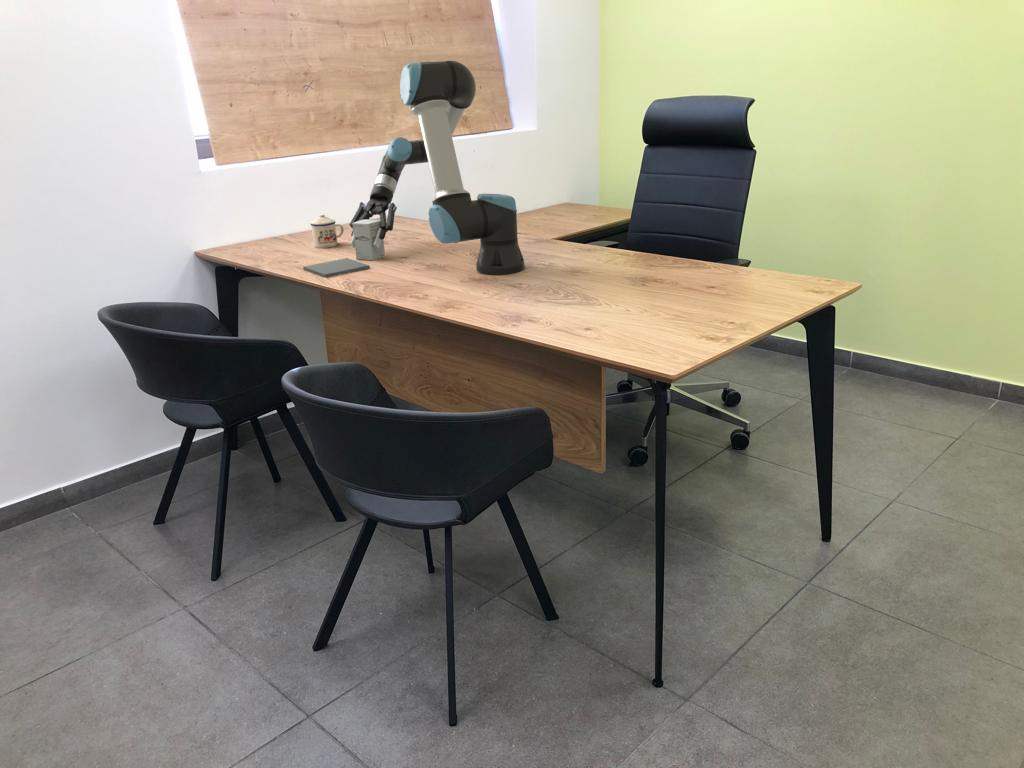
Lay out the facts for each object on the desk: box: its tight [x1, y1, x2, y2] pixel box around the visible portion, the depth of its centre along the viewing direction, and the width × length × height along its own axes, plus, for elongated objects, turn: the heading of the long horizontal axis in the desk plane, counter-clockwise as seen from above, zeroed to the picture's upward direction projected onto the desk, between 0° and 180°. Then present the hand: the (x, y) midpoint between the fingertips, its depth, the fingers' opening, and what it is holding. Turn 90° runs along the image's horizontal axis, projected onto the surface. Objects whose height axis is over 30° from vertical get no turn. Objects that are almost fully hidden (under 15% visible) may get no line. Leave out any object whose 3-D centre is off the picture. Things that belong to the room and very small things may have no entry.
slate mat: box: [302, 257, 370, 278], centre depth 266 cm, size 16×16×1 cm
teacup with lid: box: [310, 213, 345, 249], centre depth 301 cm, size 12×9×12 cm
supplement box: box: [352, 219, 386, 261], centre depth 277 cm, size 7×7×13 cm
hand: (364, 246), depth 275 cm, fingers open, 9 cm apart
